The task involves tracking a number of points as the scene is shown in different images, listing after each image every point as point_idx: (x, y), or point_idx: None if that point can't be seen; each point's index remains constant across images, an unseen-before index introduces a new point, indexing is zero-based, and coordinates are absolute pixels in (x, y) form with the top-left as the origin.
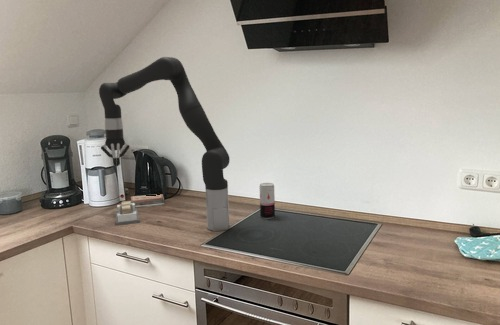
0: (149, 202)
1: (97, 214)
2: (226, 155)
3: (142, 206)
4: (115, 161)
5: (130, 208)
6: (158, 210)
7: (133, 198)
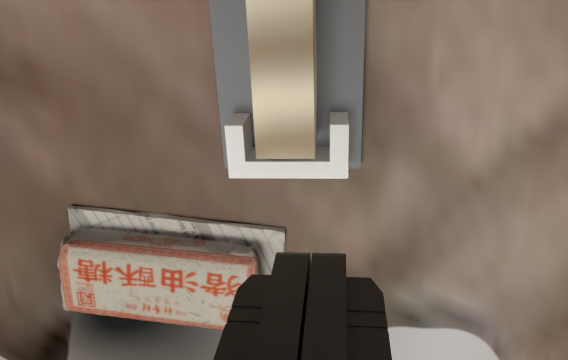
0: (149, 236)
1: (473, 178)
2: None
3: (197, 220)
4: (327, 317)
5: None
6: (94, 110)
7: None
